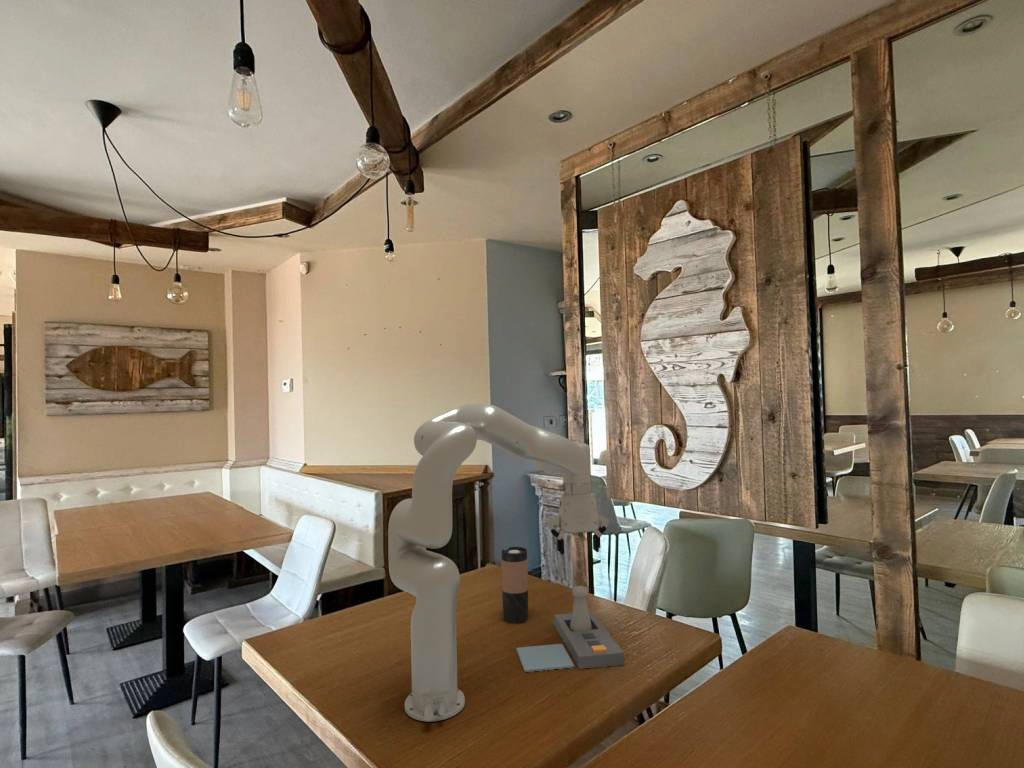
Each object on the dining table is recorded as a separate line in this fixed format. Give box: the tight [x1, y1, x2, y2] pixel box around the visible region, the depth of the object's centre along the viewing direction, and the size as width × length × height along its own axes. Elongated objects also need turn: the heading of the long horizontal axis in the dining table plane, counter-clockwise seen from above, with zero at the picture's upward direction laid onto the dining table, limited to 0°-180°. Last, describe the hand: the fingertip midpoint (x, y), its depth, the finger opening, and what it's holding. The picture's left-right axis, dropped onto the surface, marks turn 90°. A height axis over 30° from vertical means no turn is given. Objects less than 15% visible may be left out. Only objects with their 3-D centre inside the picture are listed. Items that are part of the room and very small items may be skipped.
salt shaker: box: [570, 585, 592, 631], centre depth 150 cm, size 6×6×13 cm
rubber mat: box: [515, 643, 575, 673], centre depth 137 cm, size 12×12×1 cm
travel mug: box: [501, 546, 529, 625], centre depth 163 cm, size 8×8×20 cm
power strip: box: [553, 611, 625, 670], centre depth 145 cm, size 26×11×4 cm, turn 9°
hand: (578, 552), depth 151 cm, fingers open, 9 cm apart
